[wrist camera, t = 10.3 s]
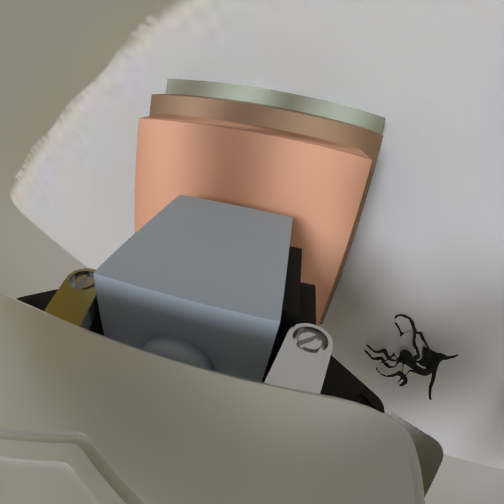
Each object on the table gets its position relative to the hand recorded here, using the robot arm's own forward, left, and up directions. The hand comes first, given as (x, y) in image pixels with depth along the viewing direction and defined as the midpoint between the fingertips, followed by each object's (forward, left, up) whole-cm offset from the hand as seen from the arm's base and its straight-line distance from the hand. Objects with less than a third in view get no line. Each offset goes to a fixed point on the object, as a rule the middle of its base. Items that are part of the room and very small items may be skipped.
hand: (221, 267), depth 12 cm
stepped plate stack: (0, 0, -11) cm, 11 cm away
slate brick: (0, 0, -1) cm, 1 cm away
